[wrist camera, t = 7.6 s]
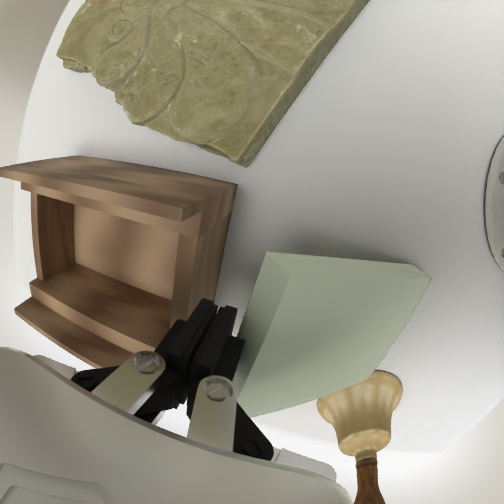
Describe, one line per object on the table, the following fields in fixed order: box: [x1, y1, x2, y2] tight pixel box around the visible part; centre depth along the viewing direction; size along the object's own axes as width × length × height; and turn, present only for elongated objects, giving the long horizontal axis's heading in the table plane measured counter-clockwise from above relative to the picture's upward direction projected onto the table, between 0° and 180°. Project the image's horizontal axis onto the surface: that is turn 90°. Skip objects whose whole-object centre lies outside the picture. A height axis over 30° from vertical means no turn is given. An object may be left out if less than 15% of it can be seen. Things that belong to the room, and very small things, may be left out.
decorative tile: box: [56, 0, 369, 167], centre depth 11 cm, size 19×20×4 cm
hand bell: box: [317, 371, 403, 504], centre depth 14 cm, size 8×8×16 cm
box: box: [0, 156, 237, 369], centre depth 15 cm, size 14×11×8 cm
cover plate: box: [233, 251, 432, 418], centre depth 14 cm, size 12×9×2 cm
